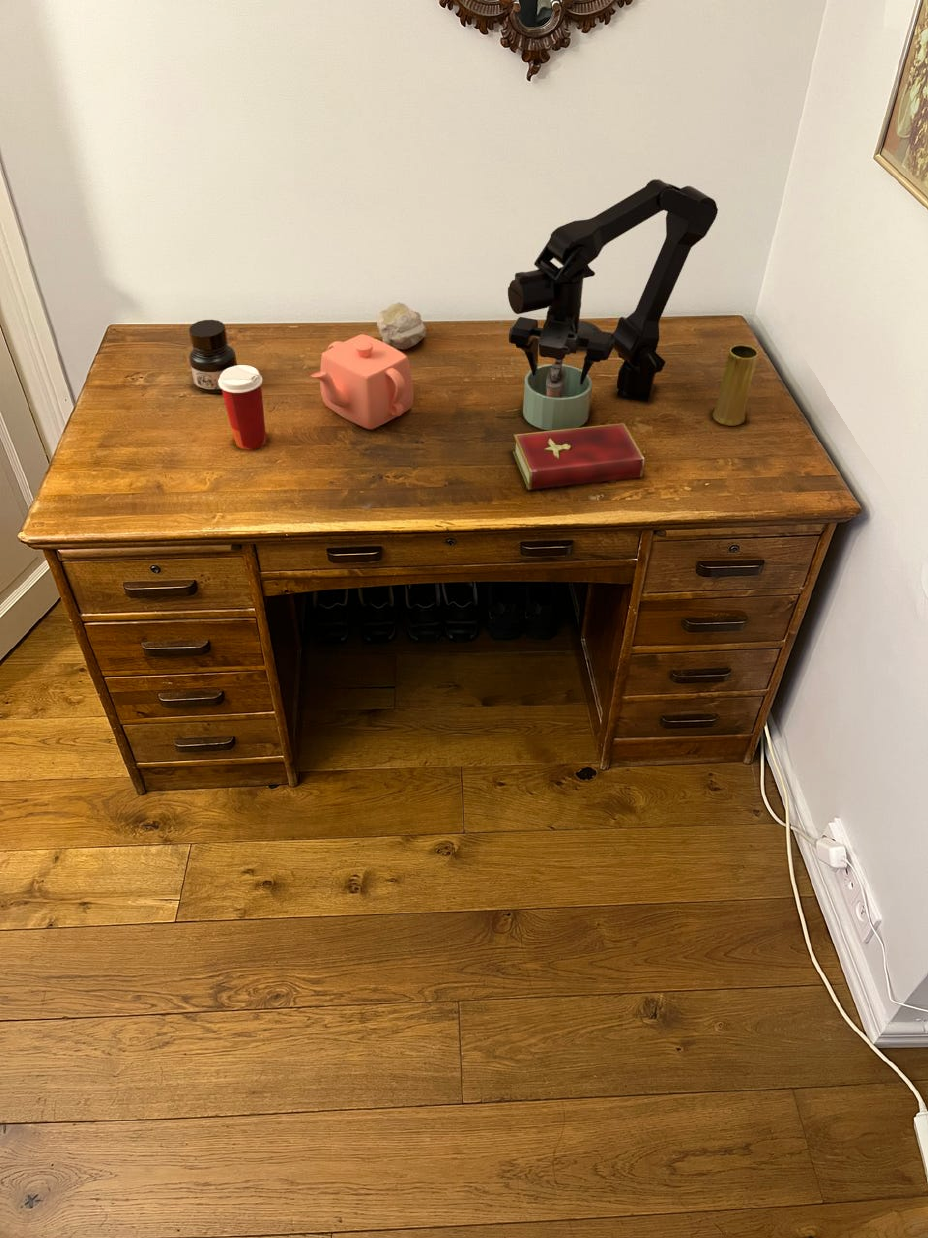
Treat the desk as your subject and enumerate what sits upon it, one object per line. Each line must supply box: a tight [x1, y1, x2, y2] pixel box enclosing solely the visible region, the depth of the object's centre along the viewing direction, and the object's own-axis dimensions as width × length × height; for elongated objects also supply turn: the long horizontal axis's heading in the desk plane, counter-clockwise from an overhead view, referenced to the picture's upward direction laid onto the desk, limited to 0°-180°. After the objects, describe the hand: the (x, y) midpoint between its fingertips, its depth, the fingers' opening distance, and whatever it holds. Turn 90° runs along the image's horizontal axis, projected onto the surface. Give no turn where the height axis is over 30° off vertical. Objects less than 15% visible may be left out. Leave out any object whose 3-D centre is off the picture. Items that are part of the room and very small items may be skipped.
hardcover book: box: [512, 422, 646, 491], centre depth 177 cm, size 12×21×4 cm, turn 102°
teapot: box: [310, 333, 415, 430], centre depth 185 cm, size 20×19×14 cm
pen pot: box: [522, 363, 593, 431], centre depth 189 cm, size 13×13×7 cm
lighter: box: [546, 359, 566, 398], centre depth 187 cm, size 8×3×10 cm, turn 166°
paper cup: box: [218, 364, 267, 451], centre depth 178 cm, size 8×8×14 cm
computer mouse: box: [577, 320, 602, 351], centre depth 209 cm, size 6×11×4 cm, turn 89°
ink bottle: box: [188, 319, 238, 394], centre depth 193 cm, size 10×9×12 cm
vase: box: [712, 344, 759, 427], centre depth 185 cm, size 6×6×14 cm
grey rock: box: [376, 301, 427, 350], centre depth 207 cm, size 12×8×10 cm
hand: (558, 379), depth 186 cm, fingers open, 9 cm apart
